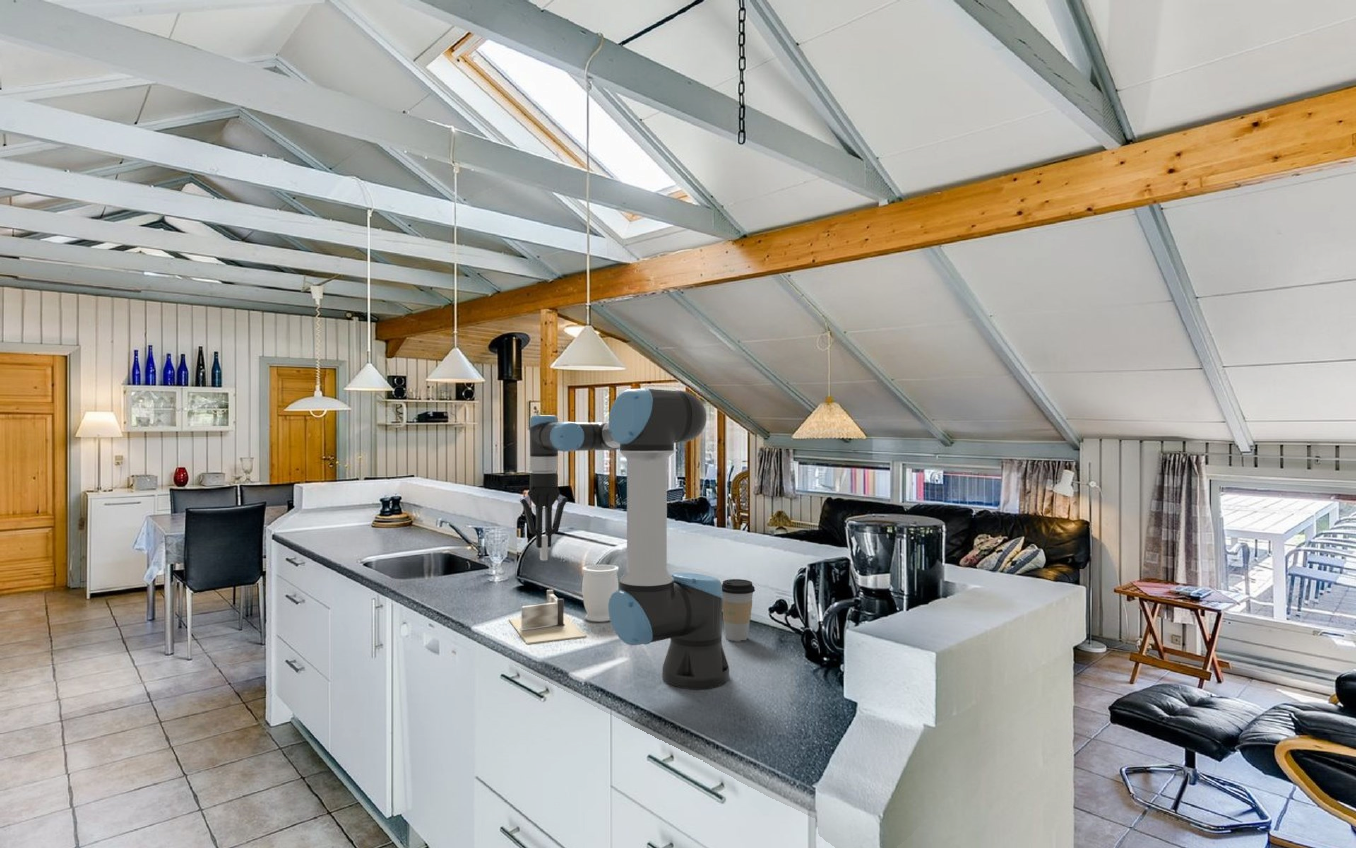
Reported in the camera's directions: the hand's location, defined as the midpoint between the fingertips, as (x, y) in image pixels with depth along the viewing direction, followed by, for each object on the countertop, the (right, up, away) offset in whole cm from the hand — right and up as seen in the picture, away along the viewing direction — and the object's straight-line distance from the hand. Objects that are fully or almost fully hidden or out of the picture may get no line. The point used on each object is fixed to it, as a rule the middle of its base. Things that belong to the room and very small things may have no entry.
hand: (543, 559), depth 189 cm
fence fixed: (+1, -20, +13) cm, 24 cm away
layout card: (0, -20, +6) cm, 21 cm away
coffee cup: (+52, -21, -1) cm, 56 cm away
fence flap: (-1, -19, +5) cm, 20 cm away
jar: (+13, -21, +17) cm, 30 cm away
